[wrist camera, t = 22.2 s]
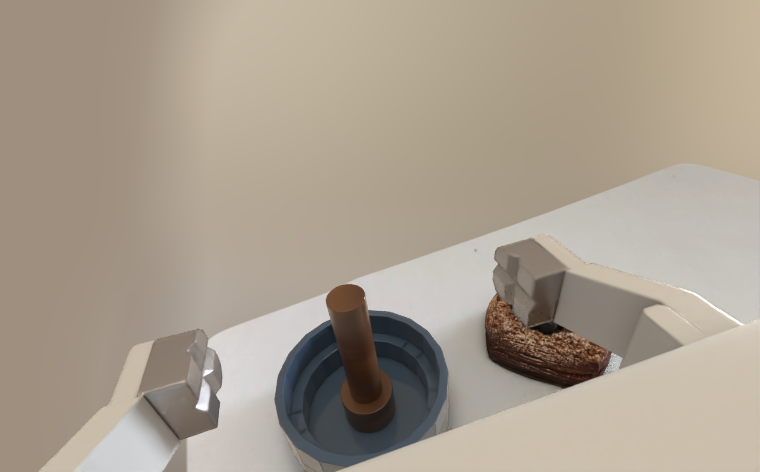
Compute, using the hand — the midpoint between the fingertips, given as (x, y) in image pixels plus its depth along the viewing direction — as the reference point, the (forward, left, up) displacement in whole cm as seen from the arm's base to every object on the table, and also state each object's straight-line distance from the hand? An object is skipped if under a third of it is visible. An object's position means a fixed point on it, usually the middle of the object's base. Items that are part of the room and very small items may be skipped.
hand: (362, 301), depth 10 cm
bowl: (-2, +12, -25) cm, 28 cm away
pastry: (+17, +17, -26) cm, 35 cm away
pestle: (-2, +12, -25) cm, 27 cm away
